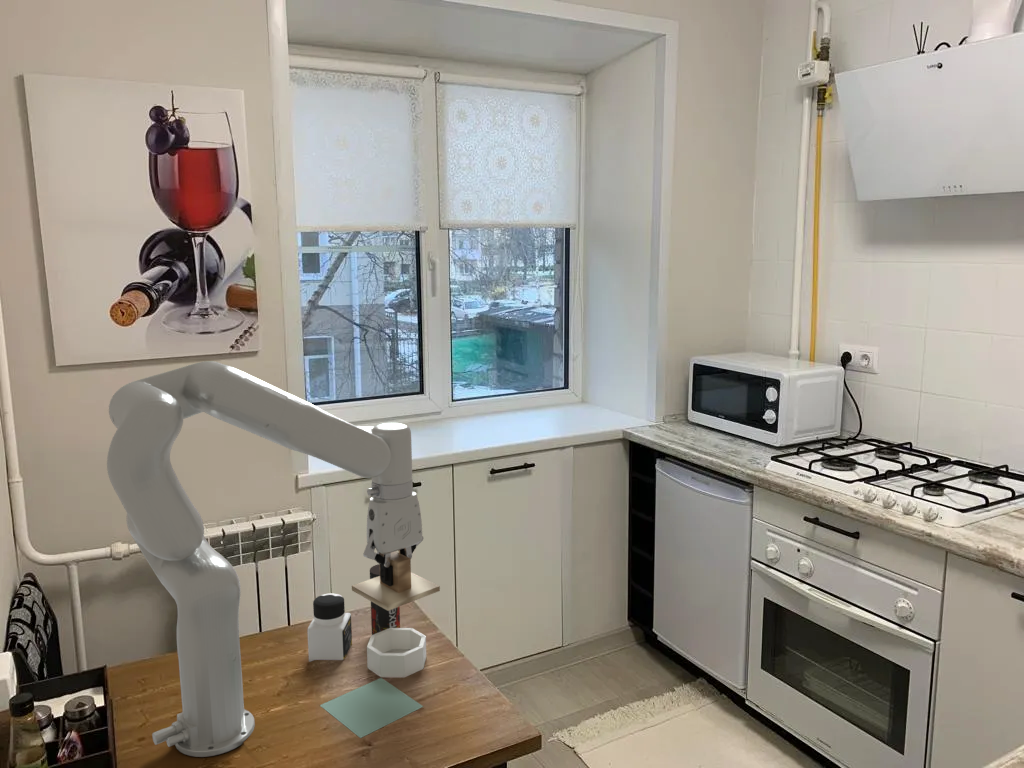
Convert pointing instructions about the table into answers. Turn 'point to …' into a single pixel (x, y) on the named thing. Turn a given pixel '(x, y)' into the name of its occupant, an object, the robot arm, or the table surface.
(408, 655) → the bowl
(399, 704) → the mat
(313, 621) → the medicine bottle
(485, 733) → the table surface
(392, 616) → the deodorant
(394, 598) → the lid
